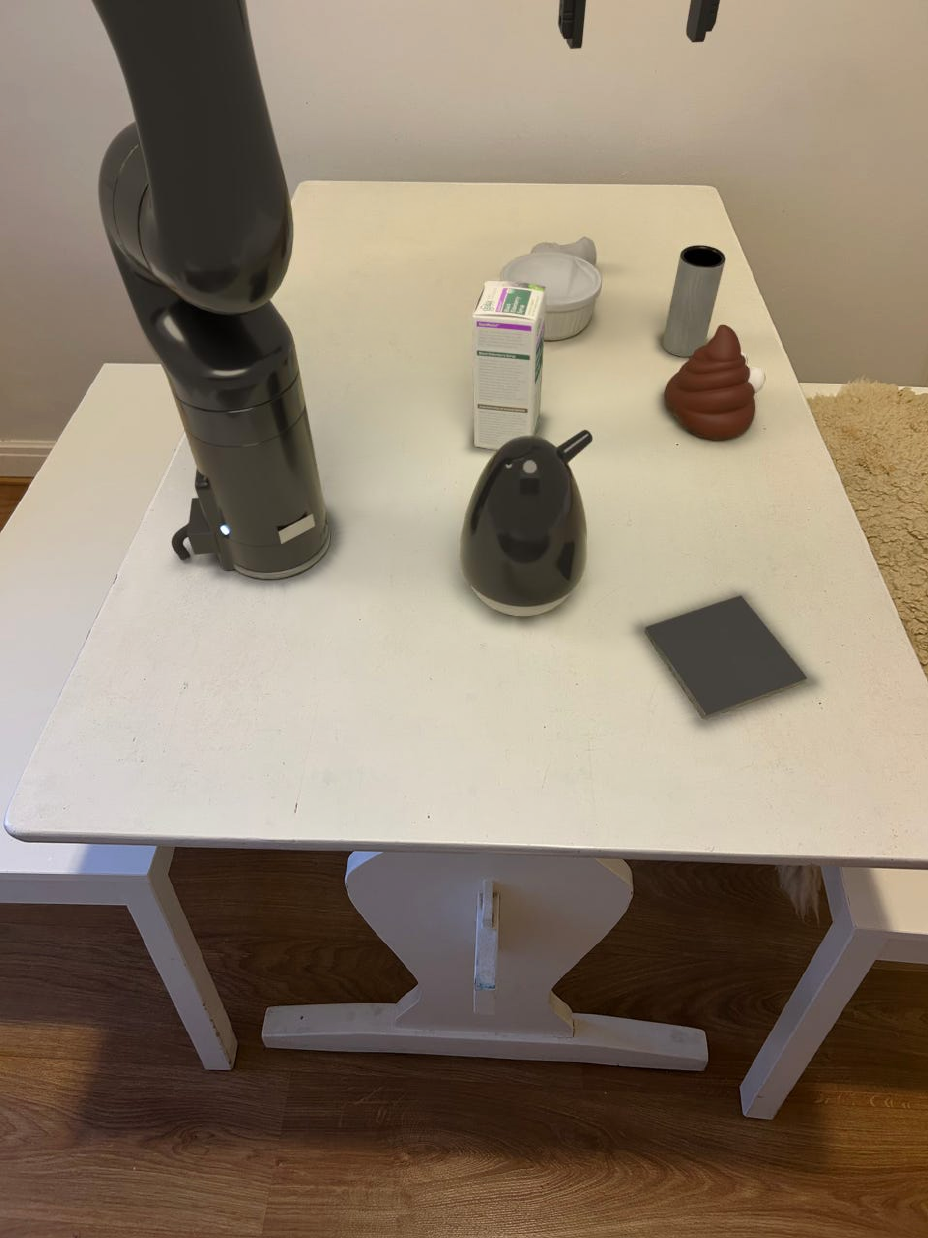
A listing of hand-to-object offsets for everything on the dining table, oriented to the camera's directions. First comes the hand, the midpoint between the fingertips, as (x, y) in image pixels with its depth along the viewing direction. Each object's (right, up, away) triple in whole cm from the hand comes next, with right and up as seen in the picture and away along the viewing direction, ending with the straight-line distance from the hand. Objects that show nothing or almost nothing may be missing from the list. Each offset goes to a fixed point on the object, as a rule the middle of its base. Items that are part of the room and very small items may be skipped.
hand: (633, 41), depth 58 cm
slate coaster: (+9, -43, +8) cm, 44 cm away
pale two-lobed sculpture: (0, +2, +45) cm, 45 cm away
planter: (+12, -10, +35) cm, 38 cm away
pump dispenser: (-7, -37, +13) cm, 40 cm away
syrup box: (-8, -22, +25) cm, 34 cm away
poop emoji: (+13, -19, +27) cm, 36 cm away
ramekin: (-2, -6, +38) cm, 39 cm away
